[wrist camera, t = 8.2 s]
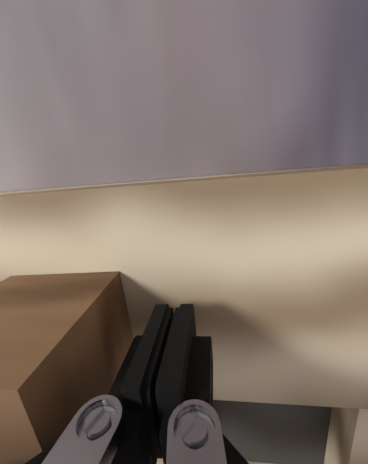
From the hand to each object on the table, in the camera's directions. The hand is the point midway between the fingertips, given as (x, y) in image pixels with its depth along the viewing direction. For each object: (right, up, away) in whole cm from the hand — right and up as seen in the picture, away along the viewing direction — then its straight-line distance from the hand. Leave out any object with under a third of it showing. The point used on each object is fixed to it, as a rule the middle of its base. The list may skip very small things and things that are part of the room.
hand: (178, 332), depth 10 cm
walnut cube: (-5, -1, +2) cm, 6 cm away
